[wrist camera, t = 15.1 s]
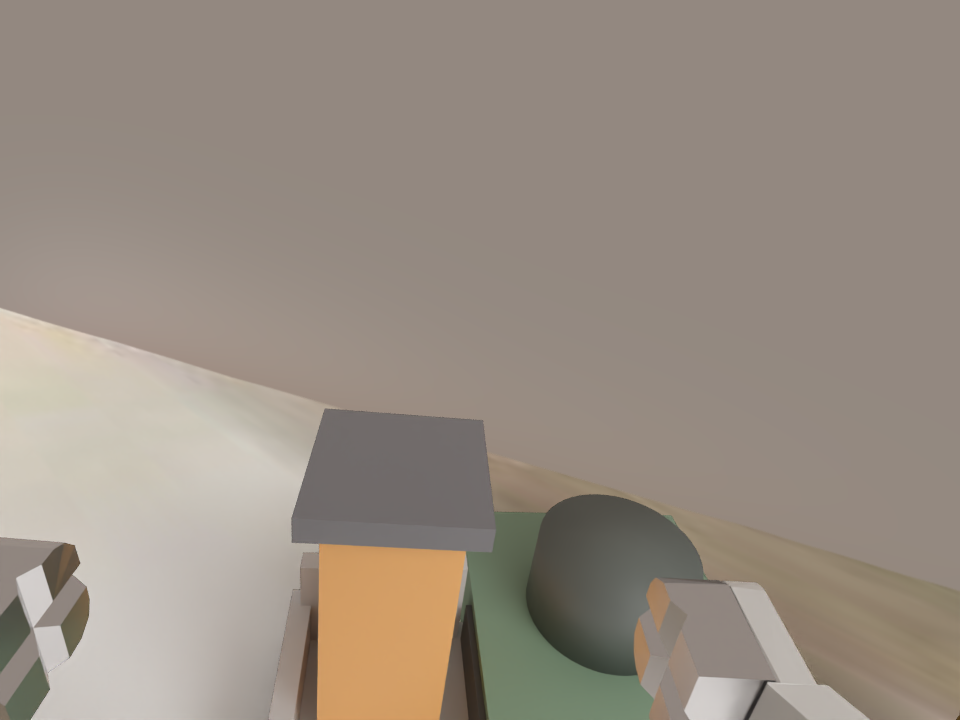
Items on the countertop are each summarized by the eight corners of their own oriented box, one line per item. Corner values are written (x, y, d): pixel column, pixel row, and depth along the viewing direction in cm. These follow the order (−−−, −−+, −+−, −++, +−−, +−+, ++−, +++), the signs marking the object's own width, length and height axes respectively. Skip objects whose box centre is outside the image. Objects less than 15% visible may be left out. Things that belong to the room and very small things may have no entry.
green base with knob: (655, 561, 41) (689, 464, 37) (831, 923, 24) (922, 811, 21) (307, 558, 37) (307, 451, 34) (232, 981, 21) (217, 858, 17)
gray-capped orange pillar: (447, 645, 32) (482, 420, 26) (450, 778, 26) (496, 529, 20) (320, 641, 31) (324, 408, 25) (294, 776, 26) (291, 518, 19)
